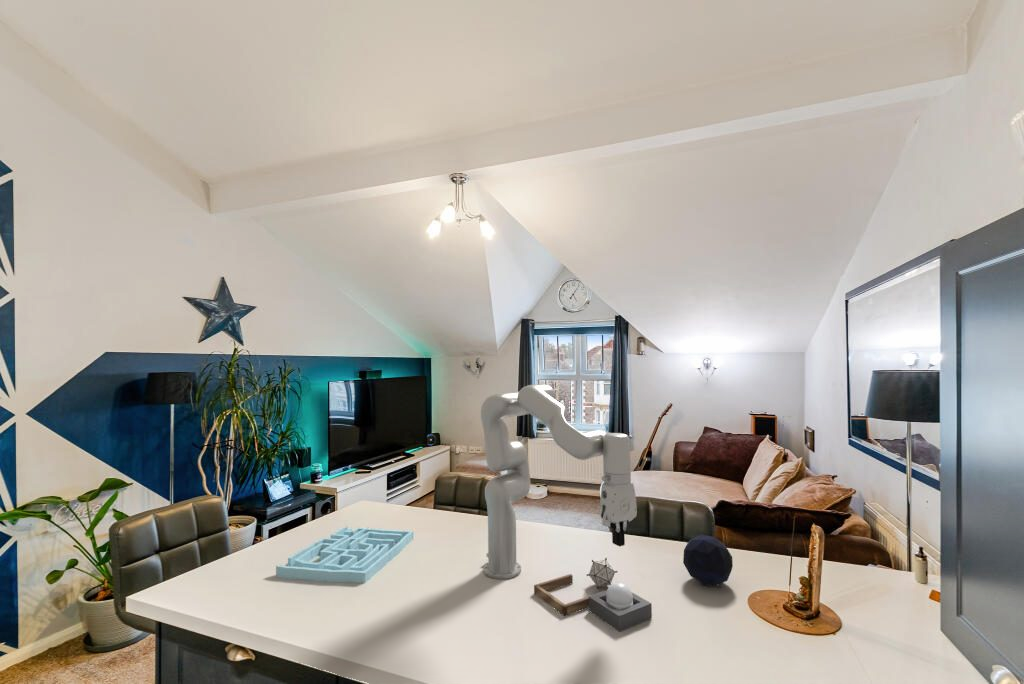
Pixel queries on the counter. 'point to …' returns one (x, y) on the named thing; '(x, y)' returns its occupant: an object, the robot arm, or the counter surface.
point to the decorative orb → (707, 560)
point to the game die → (601, 573)
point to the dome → (619, 596)
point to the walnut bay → (554, 602)
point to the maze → (347, 555)
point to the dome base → (620, 611)
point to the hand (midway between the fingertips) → (618, 544)
